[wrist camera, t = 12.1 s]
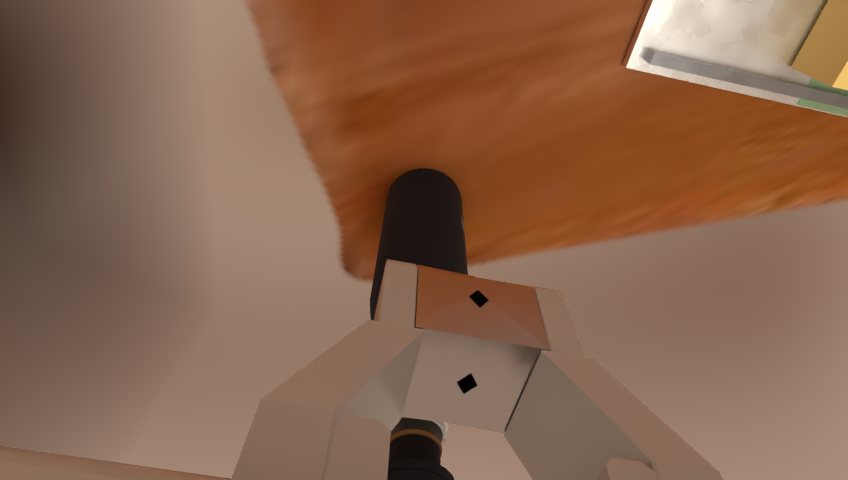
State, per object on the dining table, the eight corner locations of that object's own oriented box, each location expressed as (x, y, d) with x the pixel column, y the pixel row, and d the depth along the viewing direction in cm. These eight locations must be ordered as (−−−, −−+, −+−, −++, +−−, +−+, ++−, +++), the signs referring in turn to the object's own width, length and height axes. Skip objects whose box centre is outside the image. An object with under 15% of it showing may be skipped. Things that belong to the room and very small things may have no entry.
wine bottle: (371, 199, 47) (293, 554, 21) (426, 153, 44) (413, 490, 19) (421, 246, 49) (405, 616, 24) (476, 205, 47) (524, 565, 21)
